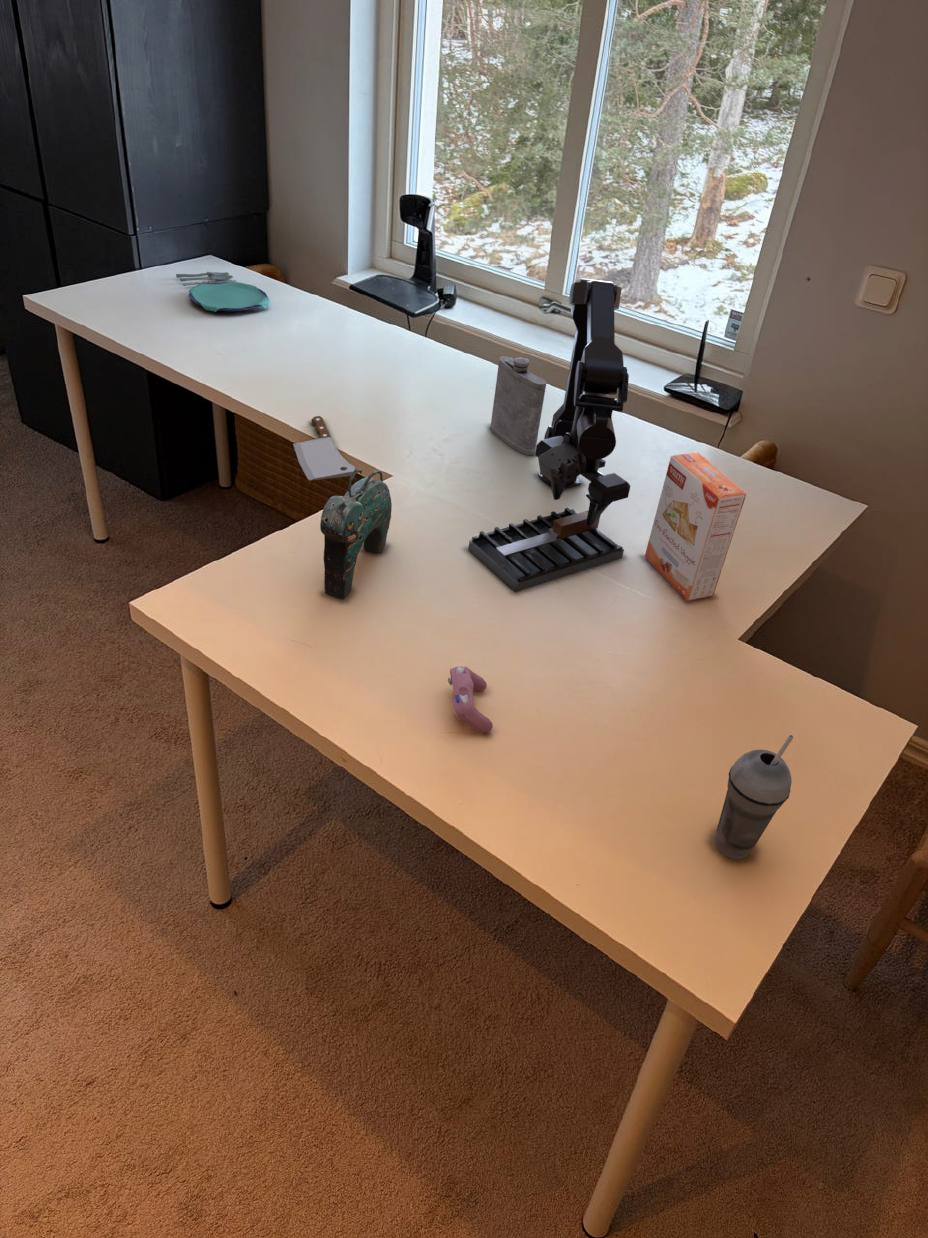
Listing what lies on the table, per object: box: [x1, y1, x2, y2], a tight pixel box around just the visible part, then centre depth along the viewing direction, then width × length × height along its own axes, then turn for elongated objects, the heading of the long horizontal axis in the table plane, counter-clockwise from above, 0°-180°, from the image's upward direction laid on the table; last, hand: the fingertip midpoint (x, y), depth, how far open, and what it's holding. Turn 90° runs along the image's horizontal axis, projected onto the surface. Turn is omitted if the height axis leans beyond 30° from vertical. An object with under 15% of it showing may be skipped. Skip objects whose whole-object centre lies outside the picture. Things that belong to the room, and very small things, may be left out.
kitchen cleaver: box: [292, 415, 356, 482], centre depth 189 cm, size 24×1×10 cm
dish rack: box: [467, 507, 625, 593], centre depth 167 cm, size 24×14×3 cm, turn 124°
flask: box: [490, 355, 548, 456], centre depth 196 cm, size 4×14×18 cm, turn 34°
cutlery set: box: [175, 271, 270, 313], centre depth 250 cm, size 20×30×2 cm, turn 30°
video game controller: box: [447, 665, 494, 733], centre depth 132 cm, size 10×5×7 cm, turn 5°
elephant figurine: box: [319, 468, 393, 600], centre depth 152 cm, size 20×6×20 cm, turn 160°
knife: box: [496, 510, 601, 557], centre depth 165 cm, size 21×3×3 cm, turn 124°
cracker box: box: [644, 451, 747, 602], centre depth 160 cm, size 14×6×21 cm, turn 23°
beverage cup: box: [714, 734, 794, 860], centre depth 113 cm, size 7×7×20 cm
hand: (572, 511), depth 165 cm, fingers open, 9 cm apart
